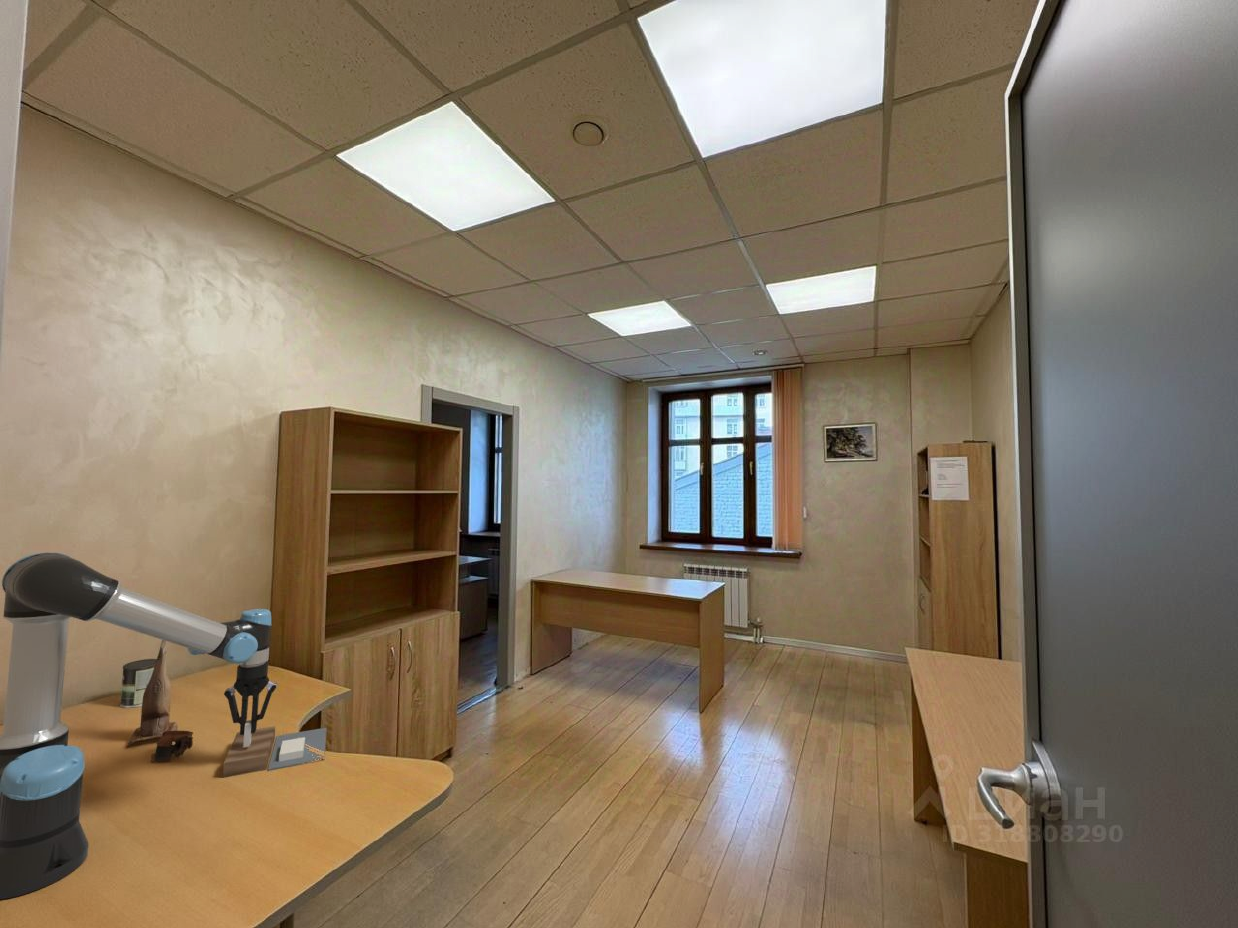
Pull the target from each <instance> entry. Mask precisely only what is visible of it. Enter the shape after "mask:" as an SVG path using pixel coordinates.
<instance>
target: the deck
mask: <svg viewBox="0 0 1238 928" xmlns="http://www.w3.org/2000/svg"><path fill="white" fill-rule="evenodd" d="M275 741H276V725H274V726H268V727H262V728H256V731H255V733H252V736H251V744H250V746H249V747H243V744H244V735H240V731H237V732H236V735H235V737H234V739H233V741H232V743H231V745H230V748H229V751H228V752H227V755H226V758H225V760H224V762H223V772H222V778H228V777H234V776H238V775H239V776H240V775H244V774H250V773H255V772H259V771H261V772H262V771H265V770H267V769H268V766H269V762H270V759H271V755H272V751H273V748H274V744H275Z"/></svg>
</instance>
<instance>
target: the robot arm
mask: <svg viewBox="0 0 1238 928" xmlns="http://www.w3.org/2000/svg"><path fill="white" fill-rule="evenodd" d="M1 586H2V590H3V592H4V593H5V595H4V605H3V617H2V618H3V619H5V620H6V621H8V622H10V623H12V630H11V631H12V632H11V642H10V644H11V645H10V653H9V664H8V671H7V685H6V695H5V697H6V698H5V705H4V706H5V707H4V716H3V717H4V718H3V726H2V733H1V734H0V900H6V899H11V898H16V897H19V896H24V895H26V894H29V893H33V892H35V891H38V890H40V889H43V888H45V887H47V886H49V885H51V884H52V885H53V884H54V883H56V882H58V881H60V880H61V879H63V878H65V877H67V876H68V875H70V874H71V873H73V872H74V871H75V870H76V869H78V868H79V867H81V865H82V864H83V863H84V862H85V861H86V860H87V857H88V853H89V841H88V838H87V836H86V833H85V832H84V831H85V830H84V828H83V827H82V824H81V822H80V813H81V812H80V811H81V802H82V801H81V799H82V790H83V779H84V770H85V765H86V761H85V758H84V757H85V755H84V752H83V750H82V749H81V748H80V747H78V746H75V745H68V743H69V731H70V726H69V725H68V724H66V723H64V722H62V721H61V715H62V703H63V702H62V701H63V694H64V693H63V692H64V681H65V672H66V669H65V668H66V660H67V659H66V657H67V649H68V639H69V637H68V635H69V626H70V618H73V619H76V620H77V619H78V620H81V621H82V622H83V621H84V622H89V621H91V620H95V619H96V620H99V621H102V622H105V623H108V624H111V625H115V626H118V627H120V628H124V629H127V630H130V631H134V632H136V633H140V634H142V635H146V636H149V637H151V638H152V637H153V638H155V639H159V640H161V641H162V640H165V641H167V643H172V644H176V645H178V646H182V647H185V648H187V650H188V652H189V654H190V655H193V656H196V655H198V656H199V655H205V654H207V655H208V656H212V657H215V658H217V659H218V658H219V659H222V660H224V661H226V662H228V663H231V664H236V665H238V666H237V668H236V680H235V681H234V684H233V686H231V687H230V688H229V687H228V688H227V689H225V691H224V693H223V695H224V696H225V698H226V699H227V702H228V706H229V710H230V713H231V720H232V723H233V724H239V726H240V727H239V732H240V735H244V744H243V747H249V746H250V744H251V736H252V733H255V731H256V729H258V728H257V724H258V721H259V720H263V719H264V717H265V715H266V712H267V708H268V706H269V703H270V699H271V697H272V694H273V692H275V690H276V689H277V686H278V683H277V682H272V681H270V678H269V677H268V676H269V675H268V674H269V671H268V670H269V662H268V661H269V659H270V658H269V657H270V641H271V640H270V639H271V632H272V630H271V628H272V612H271V611H270V610H269V609H268V608H267V609H265V608H255V609H254V608H253V609H248V610H244V611H243V612H241V615H240V619H236V620H231V621H229V620H228V621H224V622H217V621H215V620H212V619H209V618H206V617H203V616H201V615H199V614H195V613H193V612H190V611H188V610H184V609H182V608H180V607H176V606H174V605H171V604H169V603H165V602H163V601H160V600H157V599H155V598H151V597H149V596H146V595H143V594H141V593H139V592H136V591H133V590H131V589H127V588H125V587H122V586H121V582H120V580H117V579H115V578H111V577H110V576H107V575H105V574H102V573H101V572H100V571H98V570H95V569H93V568H92V567H91V566H88V565H87V564H85V563H84V562H82V561H80V560H79V559H78V560H77V559H76V558H73V557H71V556H69V555H67V554H64V553H61V552H60V553H59V552H49V551H48V552H38V553H34V554H30V555H27V556H24V557H22V558H20V559H19V560H17V561H15V562H14V563H12V564H11V565H10V566H9V567H8V569H6V571H5V572H4V575H3V577H2V580H1ZM265 688H266V690H267V693H266V695H265V698H264V701H263V704H262V707H261V710H260V712H259V700H260V694H261V692H263V690H264V689H265ZM236 692H237V693H238V694H239V695H240V697H241V710H240V713H239V708H238V704H237V700H236V695H235V693H236ZM250 696H251V697H252V705H251V719H250V720H249V719H248V709H249V707H248V706H249V697H250ZM247 719H248V720H247Z"/></svg>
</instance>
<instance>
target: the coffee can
mask: <svg viewBox="0 0 1238 928" xmlns="http://www.w3.org/2000/svg"><path fill="white" fill-rule="evenodd" d="M156 660H157V658H145V659H139V660H134V661H131V662H128V663H125V664H123V666H122V680H121V692H120V693H121V694H120V704H119V705H120V708H123V709H124V708H125V709H130V708H131V709H133V708H139V707H140V708H141V707H142V701H143V695H144V692H145V689H146V687H147V685H148V683H149V681H150V679H151V676H152V673H153V670H154V667H155V663H156Z"/></svg>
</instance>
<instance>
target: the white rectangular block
mask: <svg viewBox="0 0 1238 928" xmlns="http://www.w3.org/2000/svg"><path fill="white" fill-rule="evenodd" d="M304 746H305V737H303V738H297V739H291V740H285V741H282V745H281V750H280V754H279V761H285V760H290V759H295V758H301V757H303V752H304Z"/></svg>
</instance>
